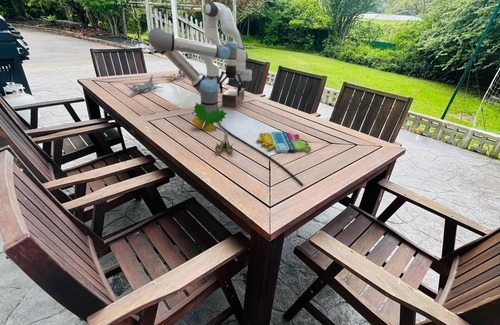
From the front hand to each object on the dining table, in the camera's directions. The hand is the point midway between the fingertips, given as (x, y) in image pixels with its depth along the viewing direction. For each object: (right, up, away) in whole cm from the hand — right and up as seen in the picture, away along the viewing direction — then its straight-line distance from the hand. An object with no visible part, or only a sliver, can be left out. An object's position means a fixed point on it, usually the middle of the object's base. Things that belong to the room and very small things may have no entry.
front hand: (229, 94), depth 200 cm
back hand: (+6, +13, +22) cm, 27 cm away
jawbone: (+2, -46, -61) cm, 77 cm away
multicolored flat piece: (+34, -41, -47) cm, 71 cm away
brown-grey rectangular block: (+1, -6, +10) cm, 12 cm away
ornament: (-10, -31, -35) cm, 48 cm away
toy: (-64, +38, +81) cm, 110 cm away
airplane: (-78, +11, +30) cm, 84 cm away
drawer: (+4, 0, +21) cm, 21 cm away
